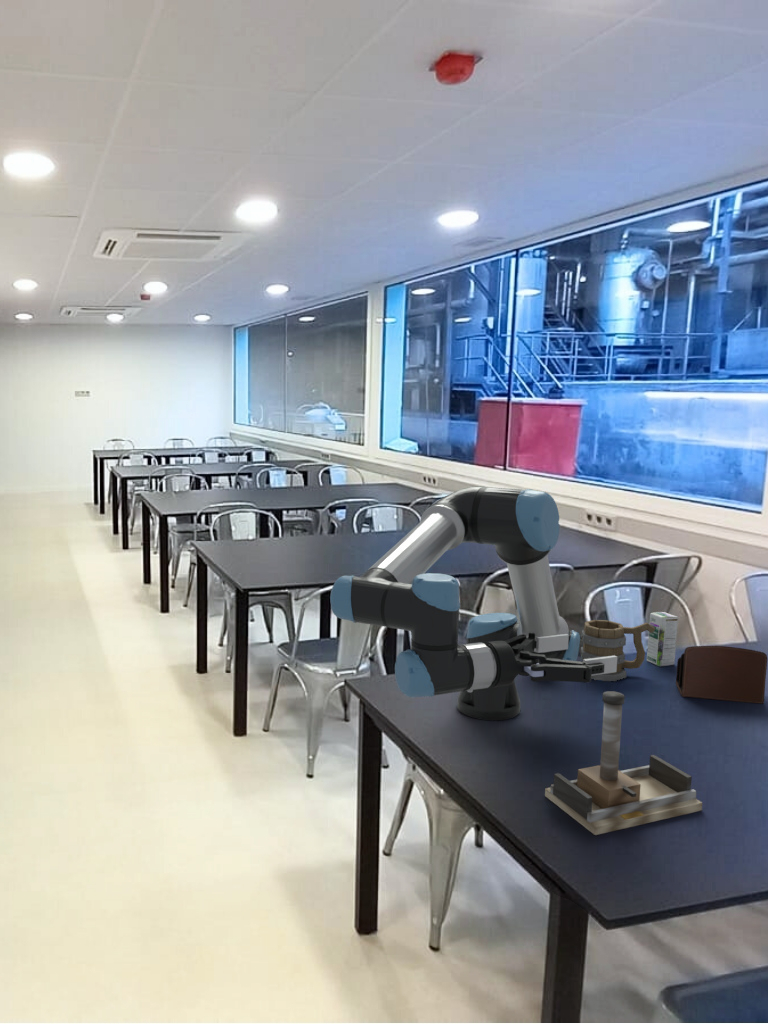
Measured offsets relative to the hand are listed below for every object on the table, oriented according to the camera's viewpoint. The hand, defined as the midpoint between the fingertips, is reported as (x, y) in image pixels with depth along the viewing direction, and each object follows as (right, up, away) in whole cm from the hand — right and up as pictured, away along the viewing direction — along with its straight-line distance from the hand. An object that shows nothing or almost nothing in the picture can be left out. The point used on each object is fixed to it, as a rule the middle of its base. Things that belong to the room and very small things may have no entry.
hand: (590, 652), depth 142 cm
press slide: (+5, -28, +5) cm, 29 cm away
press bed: (+8, -29, +8) cm, 31 cm away
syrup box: (+44, -19, +92) cm, 103 cm away
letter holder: (+50, -23, +67) cm, 87 cm away
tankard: (+27, -20, +81) cm, 87 cm away
